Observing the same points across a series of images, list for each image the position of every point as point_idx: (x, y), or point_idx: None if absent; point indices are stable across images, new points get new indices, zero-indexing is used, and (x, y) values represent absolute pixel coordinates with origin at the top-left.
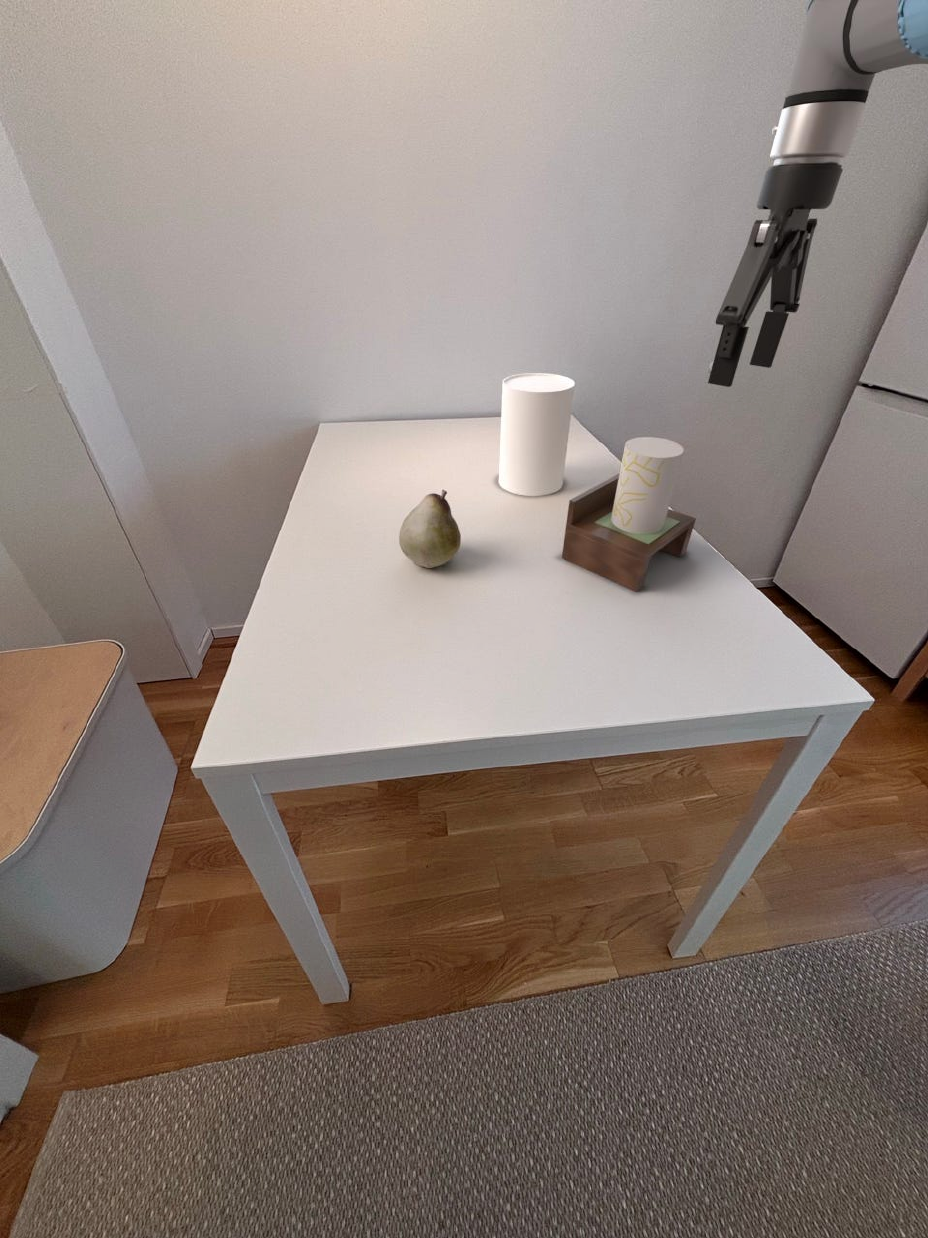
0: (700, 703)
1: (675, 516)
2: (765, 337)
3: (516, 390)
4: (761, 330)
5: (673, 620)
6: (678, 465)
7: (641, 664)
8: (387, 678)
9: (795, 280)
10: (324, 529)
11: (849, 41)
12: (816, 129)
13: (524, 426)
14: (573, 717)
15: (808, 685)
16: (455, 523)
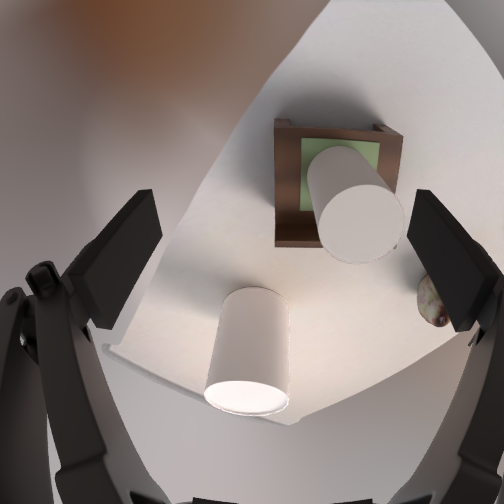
0: (471, 40)
1: (288, 149)
2: (131, 261)
3: (288, 400)
4: (129, 287)
5: (403, 79)
6: (360, 176)
7: (465, 86)
8: None
9: (44, 375)
10: (422, 344)
11: None
12: None
13: (287, 362)
14: None
15: None
16: (437, 294)
